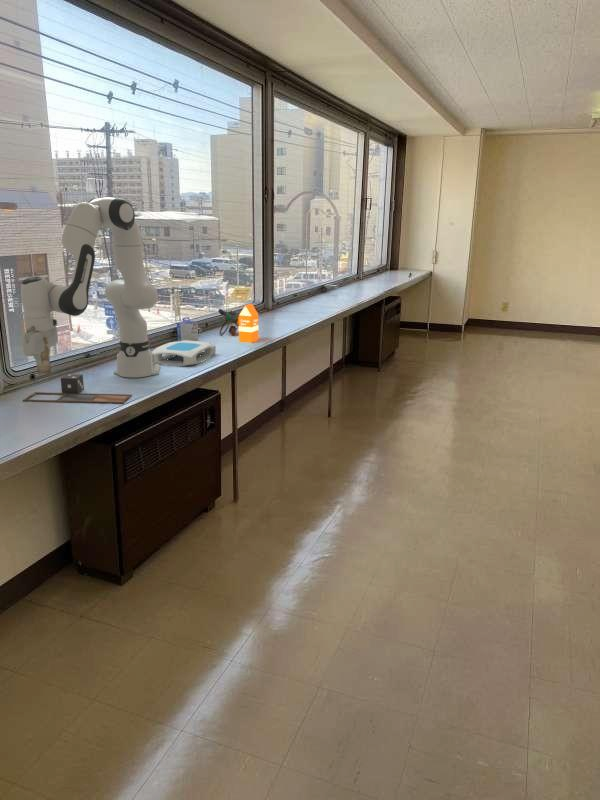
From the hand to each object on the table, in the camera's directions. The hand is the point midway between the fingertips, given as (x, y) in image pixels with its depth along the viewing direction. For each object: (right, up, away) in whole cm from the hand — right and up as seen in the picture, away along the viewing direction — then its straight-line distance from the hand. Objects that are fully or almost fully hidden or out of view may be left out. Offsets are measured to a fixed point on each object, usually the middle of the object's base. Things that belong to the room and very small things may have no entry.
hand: (43, 362), depth 213 cm
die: (+6, -10, +12) cm, 17 cm away
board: (+11, -13, +3) cm, 18 cm away
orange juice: (+64, +18, +110) cm, 129 cm away
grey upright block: (+34, +15, +96) cm, 103 cm away
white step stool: (+37, +6, +67) cm, 77 cm away
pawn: (0, -3, +1) cm, 4 cm away
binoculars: (+53, +24, +126) cm, 139 cm away
